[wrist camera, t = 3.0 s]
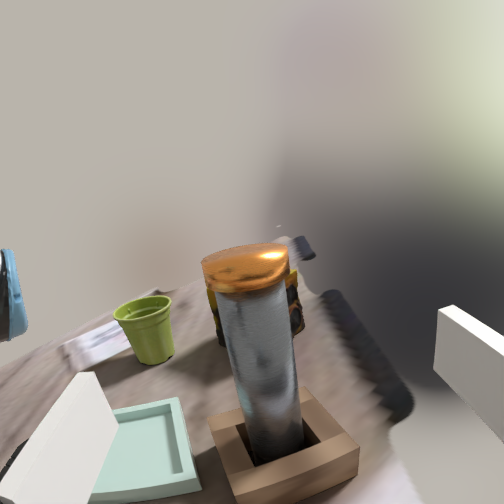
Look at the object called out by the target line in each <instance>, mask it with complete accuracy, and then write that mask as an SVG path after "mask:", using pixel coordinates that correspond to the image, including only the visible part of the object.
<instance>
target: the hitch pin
mask: <svg viewBox="0 0 504 504" xmlns="http://www.w3.org/2000/svg"><path fill="white" fill-rule="evenodd" d="M201 264H202V269H203V273H204V278H205V283H206V287H207V288H208V289H210V290H212V291H215V296H216V301H217V305H218V310H219V315H220V319H221V324H222V329H223V333H224V338H225V342H226V346H227V351H228V355H229V360H230V364H231V368H232V372H233V377H234V381H235V385H236V389H237V393H238V397H239V401H240V405H241V409H242V413H243V417H244V421H245V425H246V429H247V433H248V437H249V441H250V444H251V448H252V452H253V456H254V459H255V463H256V467H257V466H260V465H263V464H266V463H269V462H272V461H275V460H278V459H281V458H283V457H286V456H289V455H291V454H294V453H297V452H299V451H302V450H304V449H305V444H304V434H303V425H302V416H301V407H300V398H299V389H298V381H297V372H296V364H295V356H294V348H293V340H292V332H291V324H290V317H289V309H288V302H287V294H286V287H285V280H284V279H285V278H287V277H288V276H289V275H290V272H291V271H290V264H289V256H288V249H287V247H286V246H285V245H282V244H276V243H261V244H251V245H244V246H238V247H234V248H229V249H225V250H222V251H219V252H216V253H213V254H211V255H209V256H207V257H205V258H204V259H203V260H202V261H201Z"/></svg>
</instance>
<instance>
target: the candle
mask: <svg viewBox="0 0 504 504" xmlns="http://www.w3.org/2000/svg"><path fill="white" fill-rule="evenodd" d="M290 271H291V272H290V275H289V276H288V277H287V278H285V279H284V280H285V287H286V294H287V302H288V309H289V317H290V324H291V332H292V338H294V335H295V334H297V333H298V332H299V331H301V330H302V329H303V328H304V327H305V323H304V319H303V315H302V313H303V312H302V306H301V303H300V300H299V297H298V292H297V287H298V282H297V270H296V269H290ZM207 295H208V299H209V304H210V307H211V310H212V313H213V316H214V321H215V324H216V333H217V336H218V339H219V344H220V345H221V346H224V347H227V346H226V342H225V338H224V333H223V329H222V324H221V319H220V315H219V310H218V305H217V301H216V296H215V291H212V290H210V289H208V288H207Z"/></svg>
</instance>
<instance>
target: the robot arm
mask: <svg viewBox="0 0 504 504" xmlns="http://www.w3.org/2000/svg"><path fill="white" fill-rule="evenodd" d="M27 328H28V320H27V316H26V311H25V307H24V303H23V298H22V294H21V289H20V285H19V279H18V274H17V269H16V263H15V257H14V253H13V251H12V250H10V249H7V250H5V249H1V250H0V342H4V341H10V340H11V339H12V338H14V337H16V336H19V335H22V334H23V333H25V332H26V330H27ZM436 337H437V338H436V348H435V359H434V368H433V369H434V370H435V371H436V372H437V373H438V374H439V375H440V376H441V377H442V378H443V379H444V381H445V382H446V383H447V384H448V385H449V386H451V388H452V389H453V390H454V391H455V392H456V393H457V394H458V395H459V396H460V397H461V398H462V399H463V400H464V401H465V402H466V403H467V404H468V405H469V406H470V407H471V409H472V410H473V411H474V412H475V413H476V414H477V415H478V416H479V417H480V418H481V419H482V420H483V421H484V422H485V423H486V425H487V426H488V427H489V428H490V429H491V430H492V431H493V432H494V433H495V434H496V435H497V436H498V438H499V439H500V440H501V441H502V442H503V443H504V337H503V336H502V335H500V334H498V333H497V332H495V331H494V330H492V329H491V328H489V327H488V326H486V325H484V324H483V323H481V322H480V321H478V320H476V319H475V318H474V317H472V316H470V315H469V314H467V313H466V312H464V311H462V310H461V309H459V308H457V307H456V306H454V305H451V306H449V307H445V308H442V309H439V310H438V322H437V336H436ZM118 428H119V424H118V422H117V420H116V418H115V416H114V414H113V412H112V410H111V408H110V406H109V404H108V402H107V400H106V397H105V395H104V393H103V391H102V389H101V386H100V384H99V382H98V380H97V377H96V375H95V373H94V372H78V373H77V374H76V376H75V377H74V378H73V380H72V381H71V382H70V384H69V385H68V386H67V388H66V389H65V390H64V392H63V393H62V394H61V396H60V397H59V398H58V400H57V401H56V402H55V404H54V405H53V406H52V408H51V409H50V411H49V412H48V413H47V415H46V416H45V417H44V419H43V420H42V422H41V423H40V424H39V426H38V427H37V429H36V430H35V432H34V433H33V434H32V436H31V437H30V439H27V440H26V441H24V442H23V443H22V444H21V445H19V446H18V447H17V449H16V450H15V452H14V453H13V455H12V456H11V459H9V460H8V462H7V463H6V467H5V466H4V468H3V469H2V471H1V472H0V504H87V503H88V500H89V498H90V495H91V493H92V490H93V488H94V485H95V483H96V480H97V478H98V475H99V473H100V470H101V468H102V466H103V463H104V461H105V458H106V456H107V454H108V451H109V449H110V447H111V444H112V442H113V440H114V437H115V435H116V433H117V430H118Z"/></svg>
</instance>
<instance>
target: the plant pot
mask: <svg viewBox="0 0 504 504" xmlns="http://www.w3.org/2000/svg"><path fill="white" fill-rule="evenodd" d="M170 305H171V299H170V298H169V297H166V296H149V297H144V298H140V299H136V300H133V301H130V302H128V303H126V304H124V305H122V306H120V307H119V308H117V309H116V310H115V311H114V313H113V318H114V319H115V320H116V321H118V323H119V325H120V326H121V327H122V328H123V330H124V332H125V334H126V336H127V338H128V340H129V342H130V344H131V346H132V348H133V350H134V352H135V354H136V356H137V358H138V360H139V361H140V362H141V363H145V364H147V365H154V364H159V363H162V362H164V361H166V360H167V359H168V358H169V357H170V356H173V354H174V352H175V350H174V344H173V338H172V331H171V324H170V316H169V314H170Z"/></svg>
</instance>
